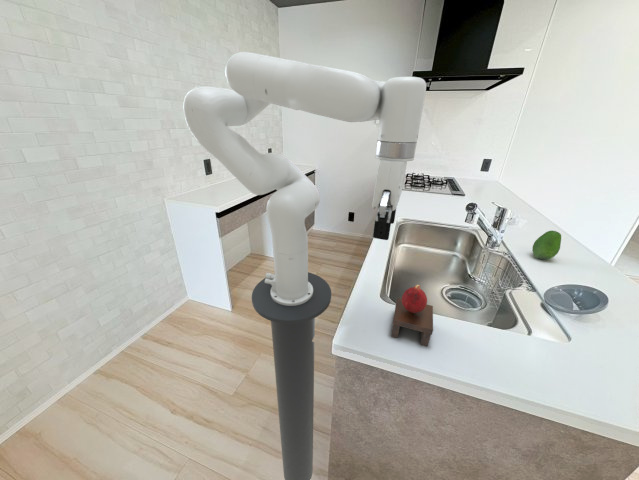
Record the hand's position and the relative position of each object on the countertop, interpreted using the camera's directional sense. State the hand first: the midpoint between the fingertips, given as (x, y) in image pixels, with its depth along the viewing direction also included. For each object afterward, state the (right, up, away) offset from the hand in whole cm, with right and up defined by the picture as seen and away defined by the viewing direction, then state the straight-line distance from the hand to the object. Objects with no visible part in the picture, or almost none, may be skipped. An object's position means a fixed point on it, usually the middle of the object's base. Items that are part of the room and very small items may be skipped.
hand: (384, 230), depth 59 cm
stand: (+9, -25, +8) cm, 28 cm away
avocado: (+73, -10, +44) cm, 86 cm away
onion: (+8, -20, +6) cm, 23 cm away
